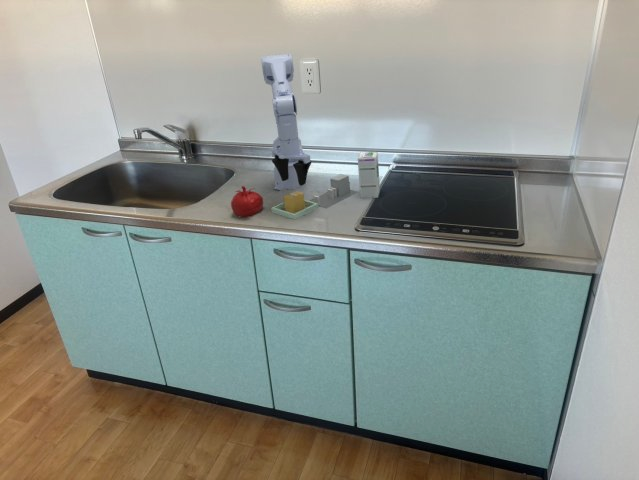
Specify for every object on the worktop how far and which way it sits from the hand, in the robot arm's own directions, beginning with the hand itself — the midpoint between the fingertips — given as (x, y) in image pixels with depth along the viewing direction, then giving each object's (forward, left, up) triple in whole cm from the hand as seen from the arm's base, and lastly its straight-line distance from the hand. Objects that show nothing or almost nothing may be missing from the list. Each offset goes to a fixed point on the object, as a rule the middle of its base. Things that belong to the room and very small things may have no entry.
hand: (293, 182), depth 148 cm
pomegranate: (-13, -9, -10) cm, 19 cm away
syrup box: (+12, +21, -10) cm, 26 cm away
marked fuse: (0, -1, -9) cm, 9 cm away
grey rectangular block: (+3, +17, -9) cm, 19 cm away
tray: (0, -1, -10) cm, 10 cm away
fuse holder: (+3, +13, -10) cm, 17 cm away
